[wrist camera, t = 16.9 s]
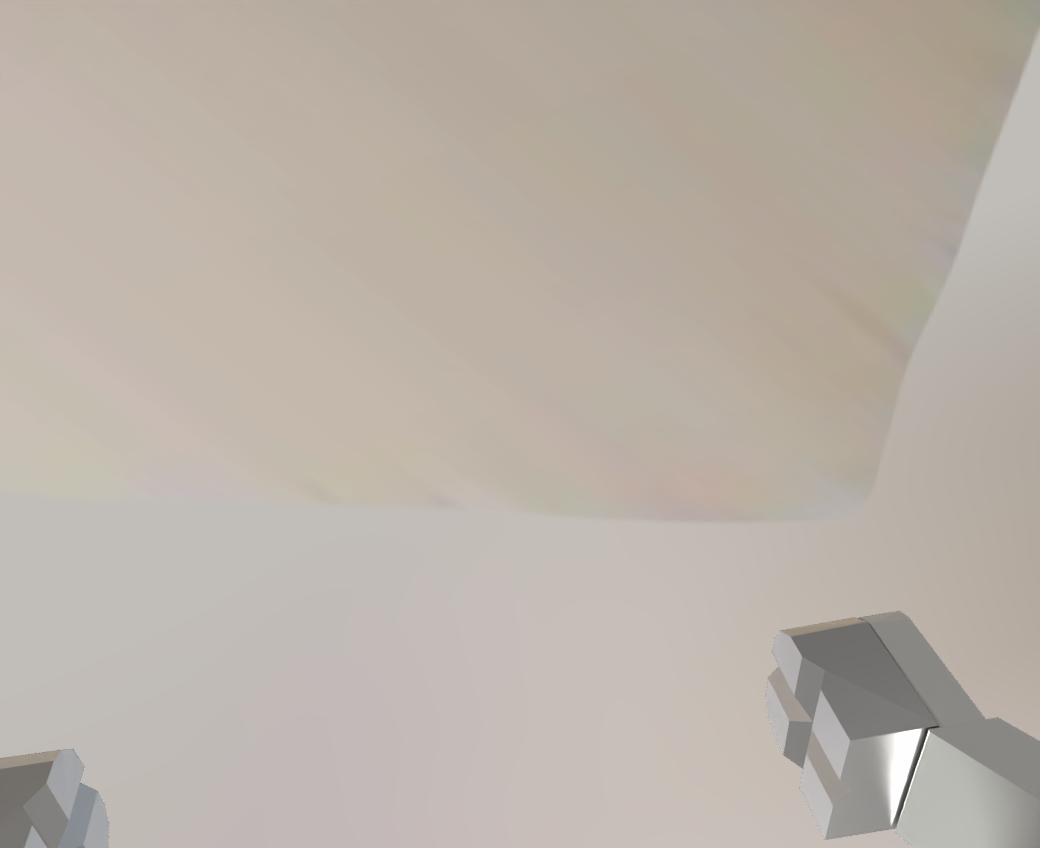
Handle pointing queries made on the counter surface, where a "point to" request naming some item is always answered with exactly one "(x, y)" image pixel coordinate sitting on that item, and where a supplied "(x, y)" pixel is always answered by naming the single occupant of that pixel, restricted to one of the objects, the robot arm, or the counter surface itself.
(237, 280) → the counter surface
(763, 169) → the counter surface
